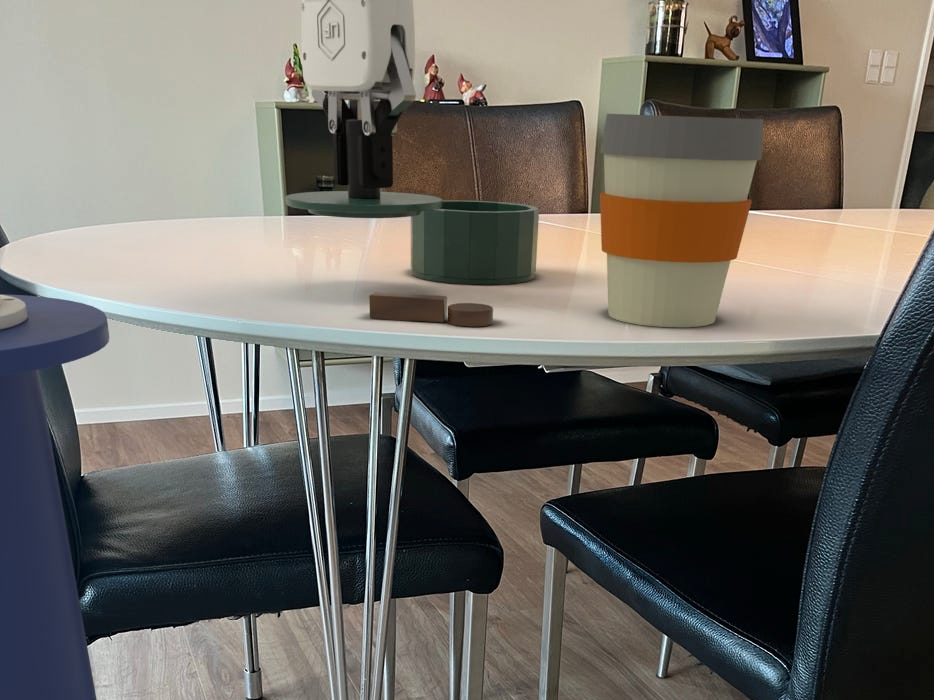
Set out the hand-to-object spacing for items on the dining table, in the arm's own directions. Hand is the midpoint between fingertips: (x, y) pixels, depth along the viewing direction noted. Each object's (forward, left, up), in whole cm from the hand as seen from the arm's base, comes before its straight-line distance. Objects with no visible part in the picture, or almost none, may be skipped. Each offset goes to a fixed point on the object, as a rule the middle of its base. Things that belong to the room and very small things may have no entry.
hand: (363, 184), depth 86 cm
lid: (0, 0, -2) cm, 2 cm away
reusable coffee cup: (+14, -23, -9) cm, 28 cm away
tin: (+16, +3, -9) cm, 18 cm away
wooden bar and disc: (-3, -14, -9) cm, 17 cm away
